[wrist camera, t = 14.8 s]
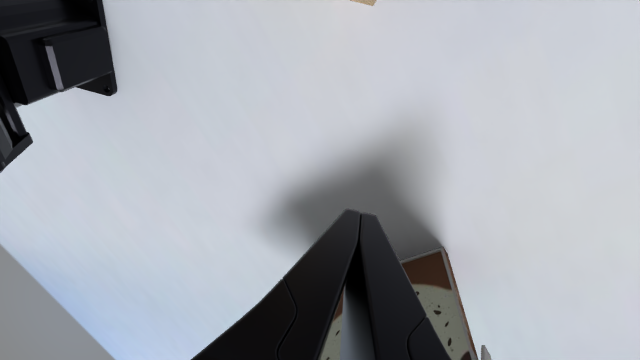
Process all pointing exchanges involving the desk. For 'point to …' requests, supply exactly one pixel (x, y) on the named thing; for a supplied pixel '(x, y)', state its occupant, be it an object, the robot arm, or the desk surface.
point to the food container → (427, 307)
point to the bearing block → (366, 2)
